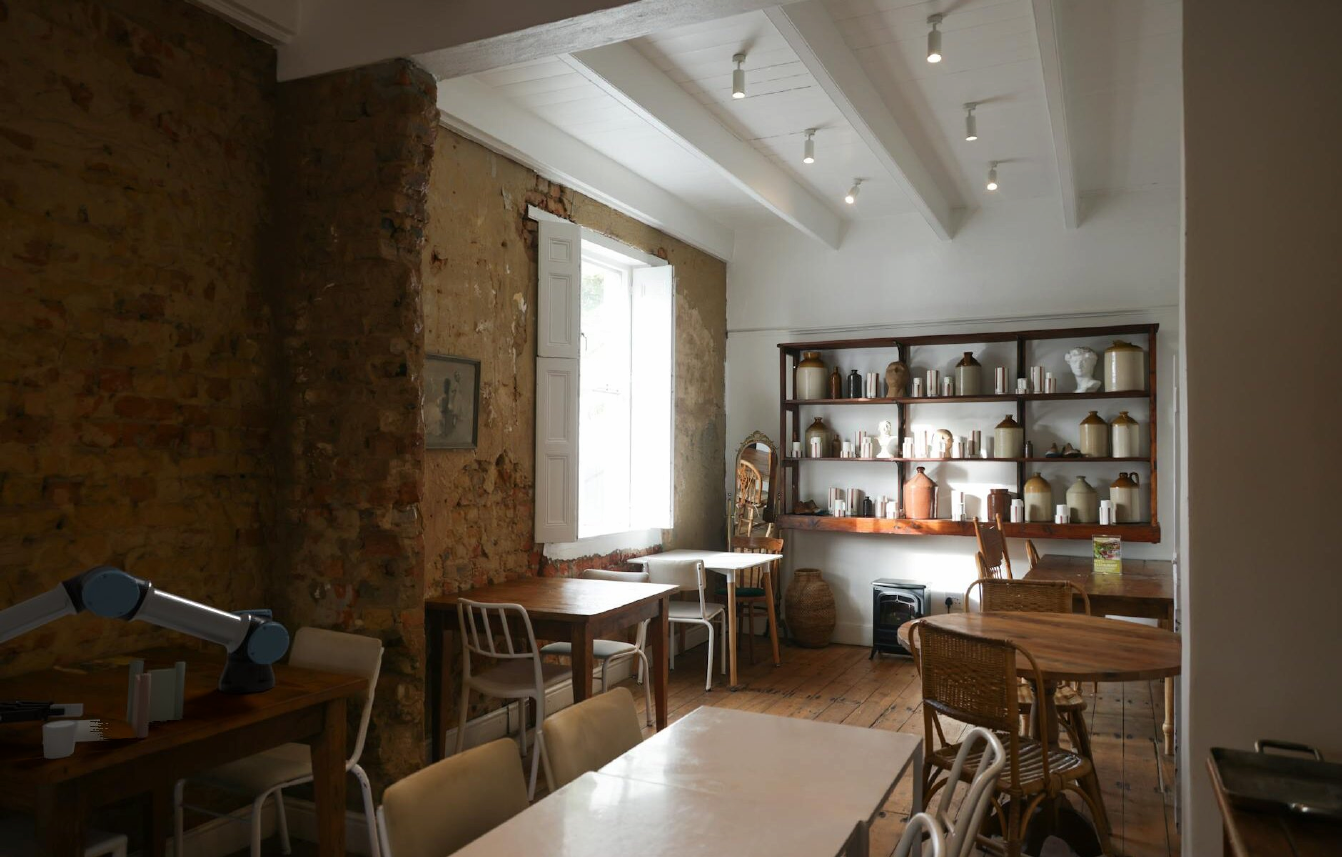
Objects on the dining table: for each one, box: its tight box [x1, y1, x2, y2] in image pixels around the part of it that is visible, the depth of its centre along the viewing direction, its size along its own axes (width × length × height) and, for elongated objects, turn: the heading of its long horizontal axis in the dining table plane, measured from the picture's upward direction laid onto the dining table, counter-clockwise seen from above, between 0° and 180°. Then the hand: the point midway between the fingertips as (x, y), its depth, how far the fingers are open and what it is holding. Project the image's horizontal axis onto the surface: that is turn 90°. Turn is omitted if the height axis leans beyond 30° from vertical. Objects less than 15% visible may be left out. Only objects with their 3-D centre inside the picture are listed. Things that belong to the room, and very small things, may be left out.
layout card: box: [41, 719, 108, 745], centre depth 220 cm, size 20×18×1 cm
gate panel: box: [132, 673, 151, 739], centre depth 219 cm, size 13×2×15 cm, turn 39°
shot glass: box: [42, 719, 79, 760], centre depth 203 cm, size 7×7×7 cm
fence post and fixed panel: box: [126, 659, 186, 724], centre depth 228 cm, size 12×3×16 cm, turn 118°
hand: (81, 710), depth 213 cm, fingers closed
